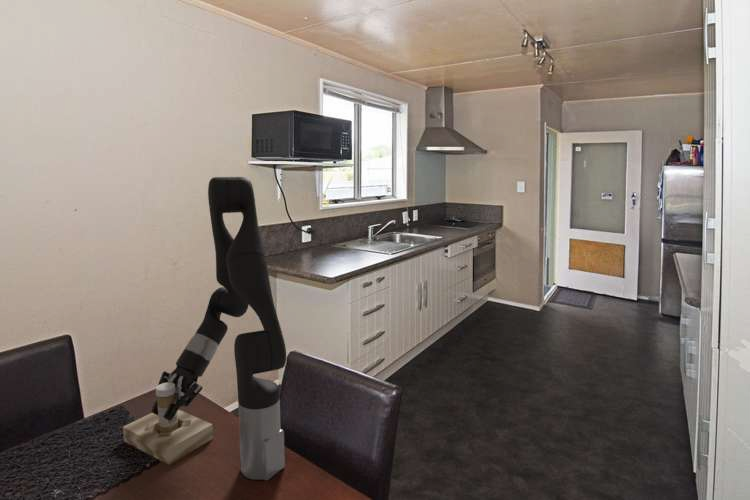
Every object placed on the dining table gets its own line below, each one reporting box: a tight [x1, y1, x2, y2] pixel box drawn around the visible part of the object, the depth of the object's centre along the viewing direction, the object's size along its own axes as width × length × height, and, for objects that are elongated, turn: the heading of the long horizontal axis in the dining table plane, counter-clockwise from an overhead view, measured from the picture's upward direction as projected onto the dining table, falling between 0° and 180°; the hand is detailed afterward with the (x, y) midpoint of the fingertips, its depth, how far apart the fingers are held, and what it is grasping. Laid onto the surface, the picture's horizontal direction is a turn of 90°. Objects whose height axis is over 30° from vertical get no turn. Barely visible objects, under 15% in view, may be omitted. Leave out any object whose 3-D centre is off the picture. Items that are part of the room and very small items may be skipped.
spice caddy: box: [122, 409, 214, 466], centre depth 122 cm, size 18×13×4 cm
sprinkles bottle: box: [155, 382, 178, 433], centre depth 121 cm, size 5×5×14 cm
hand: (160, 416), depth 120 cm, fingers closed on sprinkles bottle, 4 cm apart
